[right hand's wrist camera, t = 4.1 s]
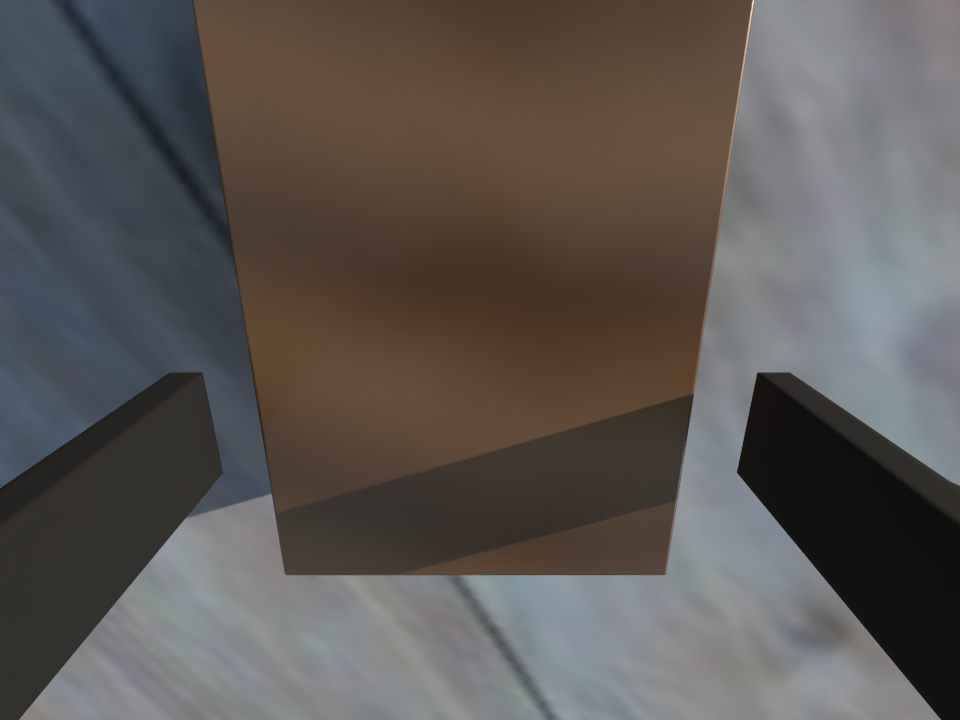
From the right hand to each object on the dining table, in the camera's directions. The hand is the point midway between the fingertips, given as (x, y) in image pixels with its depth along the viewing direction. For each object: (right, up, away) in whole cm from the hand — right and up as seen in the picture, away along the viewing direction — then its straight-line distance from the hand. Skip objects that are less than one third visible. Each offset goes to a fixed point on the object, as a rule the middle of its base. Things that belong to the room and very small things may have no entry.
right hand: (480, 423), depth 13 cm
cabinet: (0, +7, +9) cm, 11 cm away
